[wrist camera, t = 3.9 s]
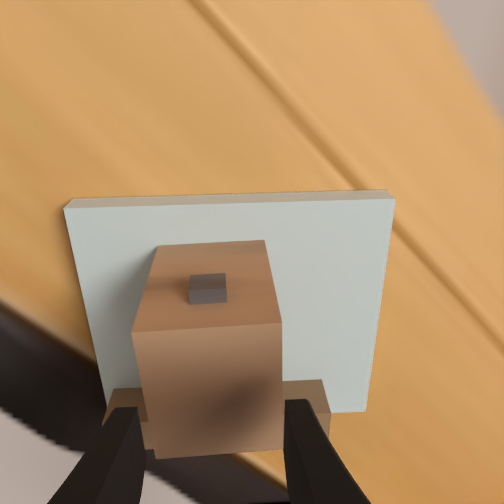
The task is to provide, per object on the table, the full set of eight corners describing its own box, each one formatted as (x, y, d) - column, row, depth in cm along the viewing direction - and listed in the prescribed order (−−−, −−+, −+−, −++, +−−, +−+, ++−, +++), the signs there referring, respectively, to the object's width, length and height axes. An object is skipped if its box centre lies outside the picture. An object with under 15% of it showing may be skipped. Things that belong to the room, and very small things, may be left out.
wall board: (359, 394, 24) (378, 446, 21) (116, 406, 24) (99, 460, 21) (386, 189, 19) (416, 218, 16) (73, 198, 18) (41, 230, 15)
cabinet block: (266, 342, 21) (282, 449, 15) (173, 349, 21) (155, 459, 15) (264, 227, 18) (282, 307, 13) (156, 233, 18) (127, 317, 12)
